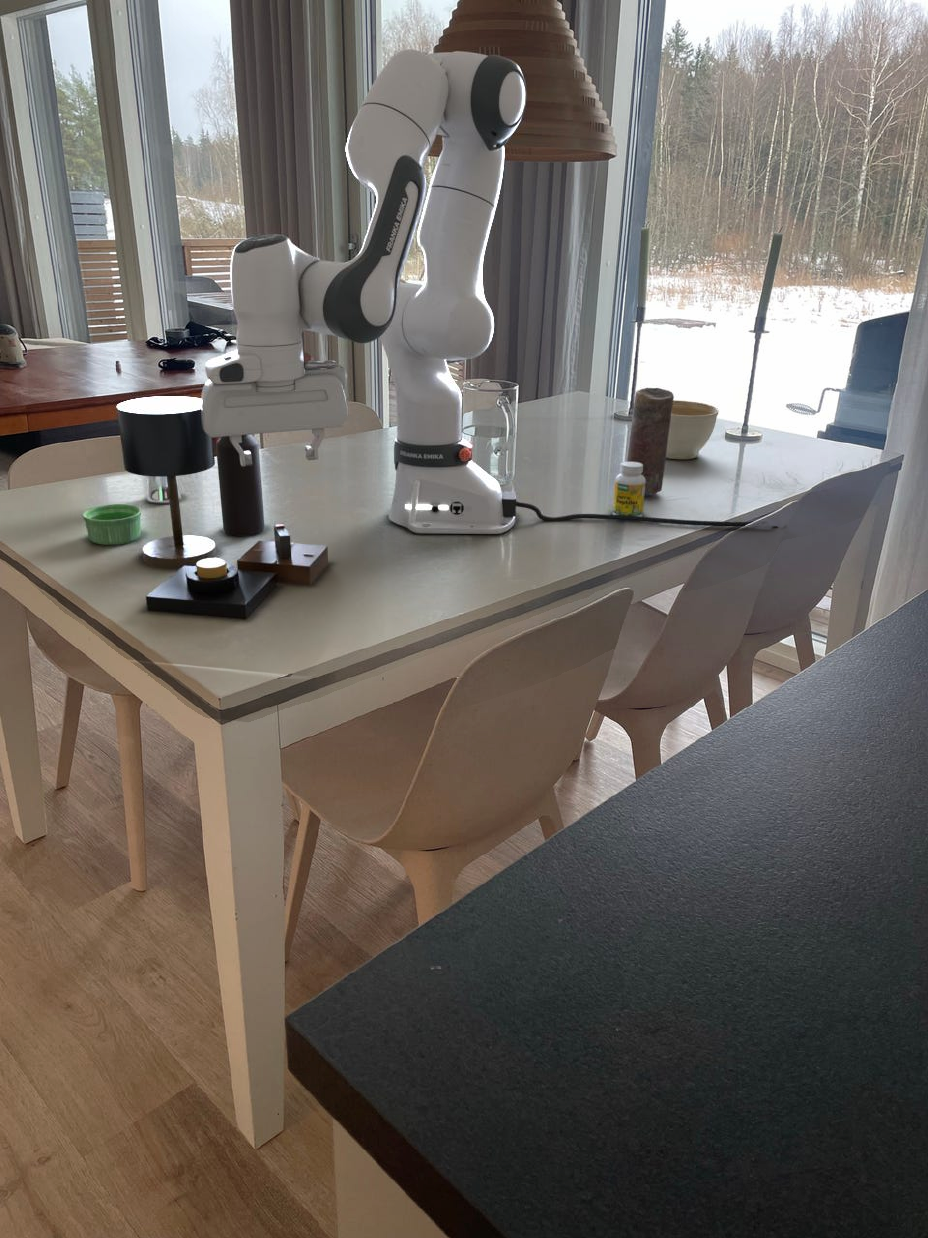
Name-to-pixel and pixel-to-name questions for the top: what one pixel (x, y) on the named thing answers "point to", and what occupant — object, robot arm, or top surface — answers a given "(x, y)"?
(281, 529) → the dimmer knob
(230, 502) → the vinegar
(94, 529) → the ramekin
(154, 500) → the beer glass
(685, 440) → the planter bowl
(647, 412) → the candle
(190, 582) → the switch block
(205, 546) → the table lamp
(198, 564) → the lamp button
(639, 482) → the supplement bottle
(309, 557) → the block
